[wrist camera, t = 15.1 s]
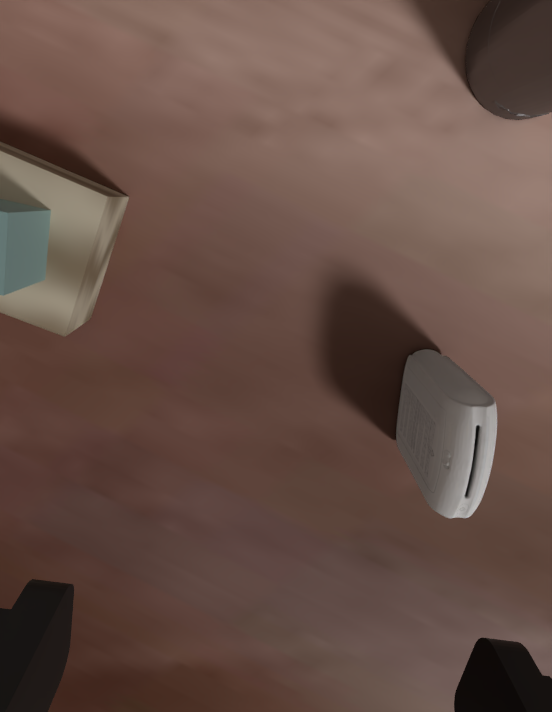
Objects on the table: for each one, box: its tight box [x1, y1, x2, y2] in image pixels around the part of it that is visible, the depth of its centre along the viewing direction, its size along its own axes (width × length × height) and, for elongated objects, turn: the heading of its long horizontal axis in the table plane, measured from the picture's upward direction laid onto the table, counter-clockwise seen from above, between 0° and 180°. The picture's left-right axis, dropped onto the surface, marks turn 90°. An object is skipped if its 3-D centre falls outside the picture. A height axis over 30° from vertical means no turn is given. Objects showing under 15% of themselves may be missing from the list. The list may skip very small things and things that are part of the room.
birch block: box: [0, 142, 129, 337], centre depth 37 cm, size 11×11×6 cm
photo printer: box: [396, 349, 497, 518], centre depth 39 cm, size 10×4×12 cm, turn 178°
